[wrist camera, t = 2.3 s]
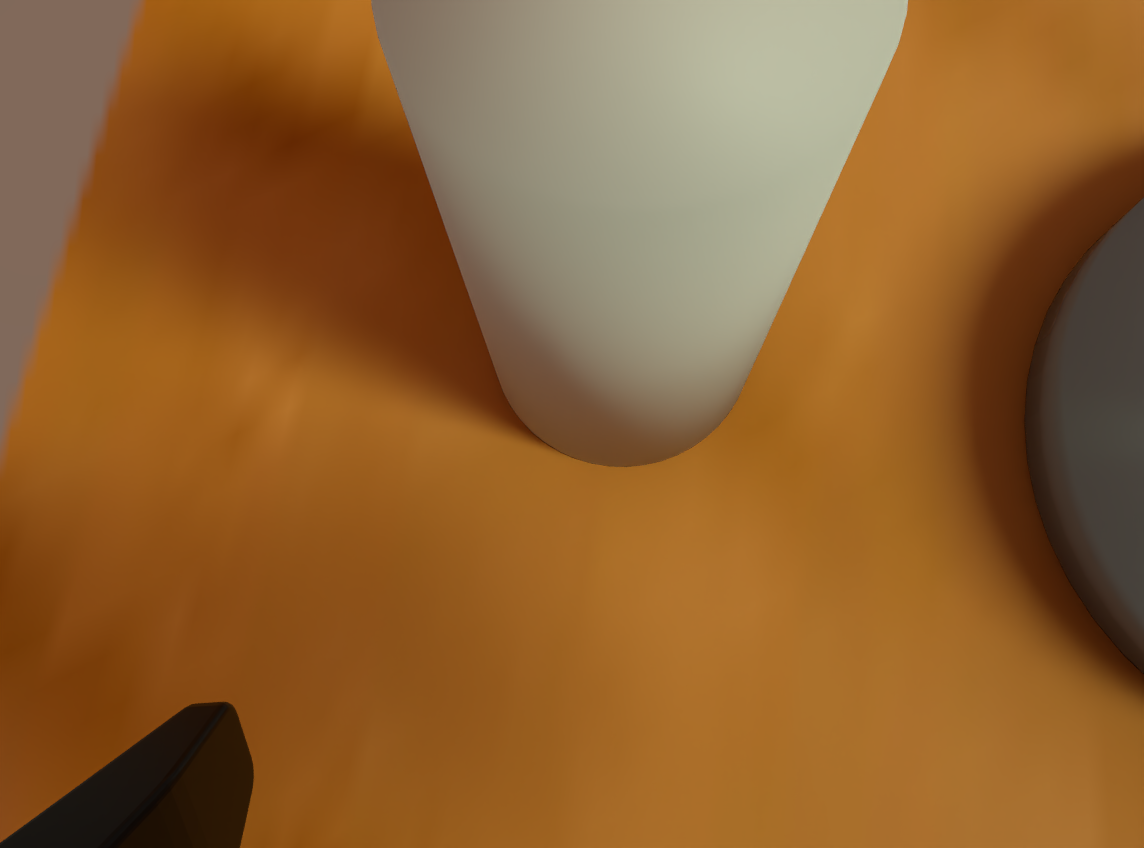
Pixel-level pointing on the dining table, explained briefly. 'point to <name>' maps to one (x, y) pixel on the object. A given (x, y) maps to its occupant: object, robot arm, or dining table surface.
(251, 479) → the dining table surface
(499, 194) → the white post
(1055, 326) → the slate plinth
